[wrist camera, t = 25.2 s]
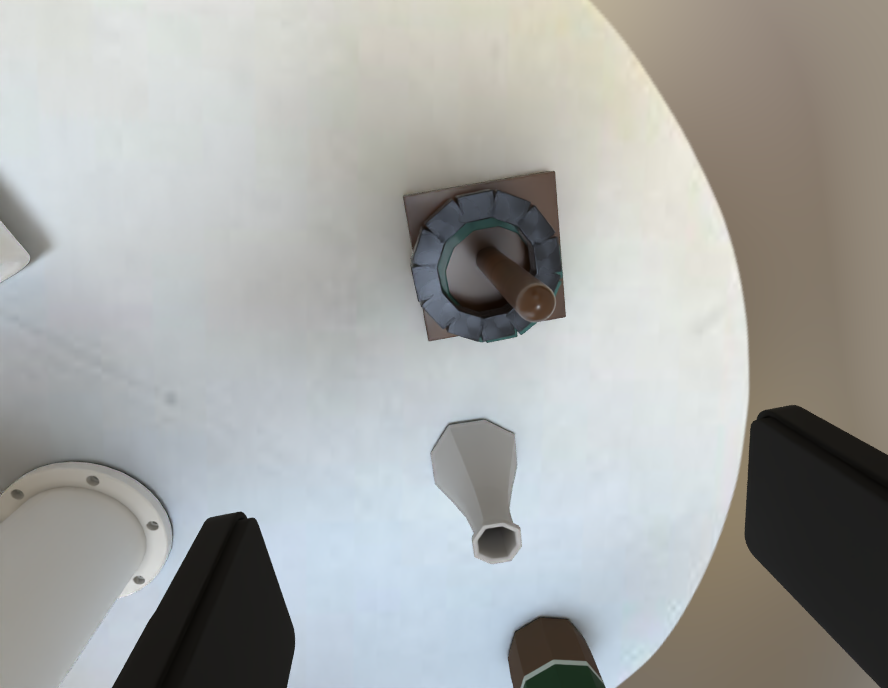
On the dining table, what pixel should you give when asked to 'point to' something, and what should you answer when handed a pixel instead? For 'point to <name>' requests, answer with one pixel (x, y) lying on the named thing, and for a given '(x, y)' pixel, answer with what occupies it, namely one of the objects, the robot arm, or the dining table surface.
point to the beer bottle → (552, 657)
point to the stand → (494, 254)
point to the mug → (10, 254)
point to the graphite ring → (446, 225)
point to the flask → (480, 484)
